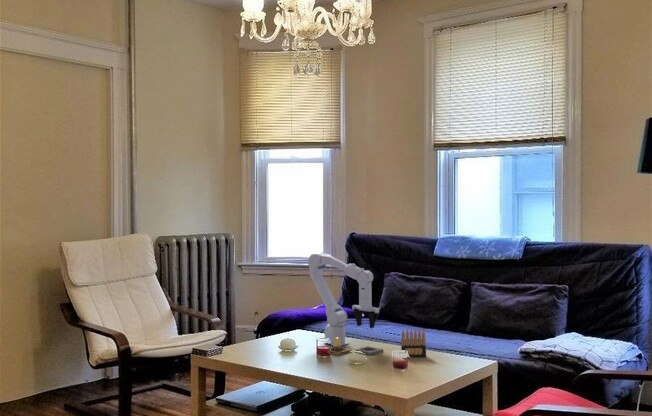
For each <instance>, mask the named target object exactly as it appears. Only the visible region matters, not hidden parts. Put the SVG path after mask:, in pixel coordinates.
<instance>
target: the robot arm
mask: <svg viewBox="0 0 652 416" xmlns="http://www.w3.org/2000/svg"><path fill="white" fill-rule="evenodd" d="M307 265H308V269H309V277H310V278H311V281H312V283H313V284H314V286H315V288H316V290H317V291H316V292H318V294H319V296H320V298H321V300H322V302H323V304H324V306H325V309H326V310H325V314H326V318H327V319H326V321H327V325H325V328H324V339H325V338H329V339H330V341H331V345H330V346H332V347H334V337H341V347H342V346H344V345H349V344H350V342H347V341H346V321H347V319H348V314H347V312H346V311H345V310H344V309H343V308H342V306H341V305H340V304H338V303H337V301H336V299H335V296H334V295H333V293H332V291H331V289H330V288H329V285H328V283H327V282H326V280H325V278H324V276H323V272H324V269H325V268H326V267H327V265H329V266H332V267H334V268H336V269H338V270H340V271H343V272H344V274H345V275H346V276H347V277H349V278H352V279H353V280H356V281H357V283H358V304H353V305H352V306H351V308H352V311H351V312H352V315H353V316H354V318H355V321H356V326H357V327H361V326H362V323H363V322H362V321H363V318H362V317H363V313H364V312H367V316H368V320H369V322H368V323H369V329H374V328H375V326H376V325H375V324H376V321H377V318H378V317H379V314H380V308H379V307H375V306H373V305H372V304H373V303H372V299H373V297H372V295H373V294H372V293H373V292H372V282H373V281H374V274H373V272H372V271H371V270H369V269H367V270H365V268H363V267H359V266H357V265H356V264H355V263H348V264H347V263H346V262H344V261H341V260H340V259H338V258H337V257H335V256H332V255H331V254H328V253H326V252H324V251H322V252H319V253H311V254H310V255H309V256H308V260H307Z"/></svg>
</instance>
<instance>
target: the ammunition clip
mask: <svg viewBox="0 0 652 416" xmlns="http://www.w3.org/2000/svg"><path fill="white" fill-rule="evenodd" d="M426 341H427V340H426V332H425V329H422V332H421V328H419V329H418V332H417V329H416V328H415V329H414V333H413V329H412V328H411V329H410V332H409V330H408V329H407V328H406V331H405V330H404V329H402V331H401V341H400V343H401V347H400V351H401V350H405V351H406V350H407V351H408V354H409V356H410V357H411V358H427V348H426V346H427V345H426Z"/></svg>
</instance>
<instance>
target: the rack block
mask: <svg viewBox="0 0 652 416" xmlns="http://www.w3.org/2000/svg"><path fill="white" fill-rule="evenodd" d="M330 348H331V351H330V353H331V354H330V355H331V356H332V355H333V356H337V357H338V356H343V355H346V354H350V353H351V352H350V351H352V349H350V348H347V347H342V346H341V351H339V352H336V351H334V346H332V347H330ZM349 352H350V353H349Z"/></svg>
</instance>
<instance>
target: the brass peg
mask: <svg viewBox="0 0 652 416" xmlns="http://www.w3.org/2000/svg"><path fill="white" fill-rule="evenodd" d="M333 347H334V351H336V352H339V351H341V347H342V346H341V337H334V346H333Z"/></svg>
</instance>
